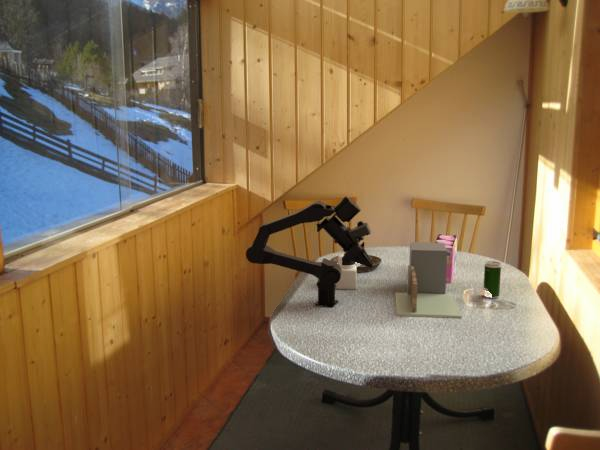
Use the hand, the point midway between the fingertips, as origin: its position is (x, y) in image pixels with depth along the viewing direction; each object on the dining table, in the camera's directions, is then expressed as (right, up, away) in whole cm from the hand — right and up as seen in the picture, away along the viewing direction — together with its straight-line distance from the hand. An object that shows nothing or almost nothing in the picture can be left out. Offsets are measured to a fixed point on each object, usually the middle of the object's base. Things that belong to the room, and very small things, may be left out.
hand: (372, 265), depth 208 cm
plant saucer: (-1, -4, +50) cm, 50 cm away
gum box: (+32, -6, +38) cm, 51 cm away
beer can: (+42, -12, +11) cm, 45 cm away
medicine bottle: (-7, -9, +24) cm, 26 cm away
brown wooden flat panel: (+14, -12, +2) cm, 19 cm away
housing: (+19, -12, +8) cm, 24 cm away
